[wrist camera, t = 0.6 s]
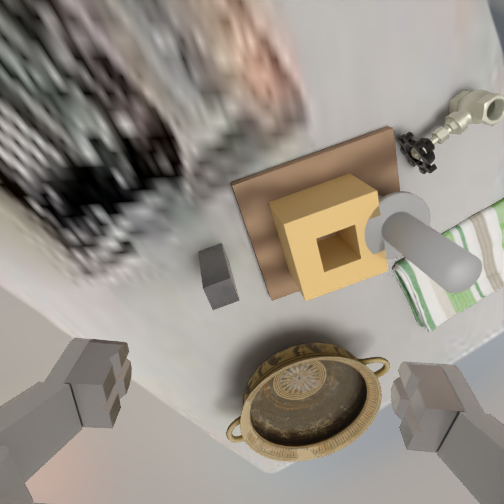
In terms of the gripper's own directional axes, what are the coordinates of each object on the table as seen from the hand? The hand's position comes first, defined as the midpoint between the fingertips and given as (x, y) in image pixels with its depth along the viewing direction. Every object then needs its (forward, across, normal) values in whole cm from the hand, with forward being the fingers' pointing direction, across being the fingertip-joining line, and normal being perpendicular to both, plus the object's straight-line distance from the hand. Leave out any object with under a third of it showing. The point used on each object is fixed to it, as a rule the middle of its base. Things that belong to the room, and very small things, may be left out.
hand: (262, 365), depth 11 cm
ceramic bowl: (+40, -9, +45) cm, 61 cm away
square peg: (+39, +6, +21) cm, 44 cm away
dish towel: (+49, -36, +24) cm, 65 cm away
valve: (+47, -24, +1) cm, 53 cm away
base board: (+43, -10, +15) cm, 46 cm away
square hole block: (+42, -12, +14) cm, 45 cm away
